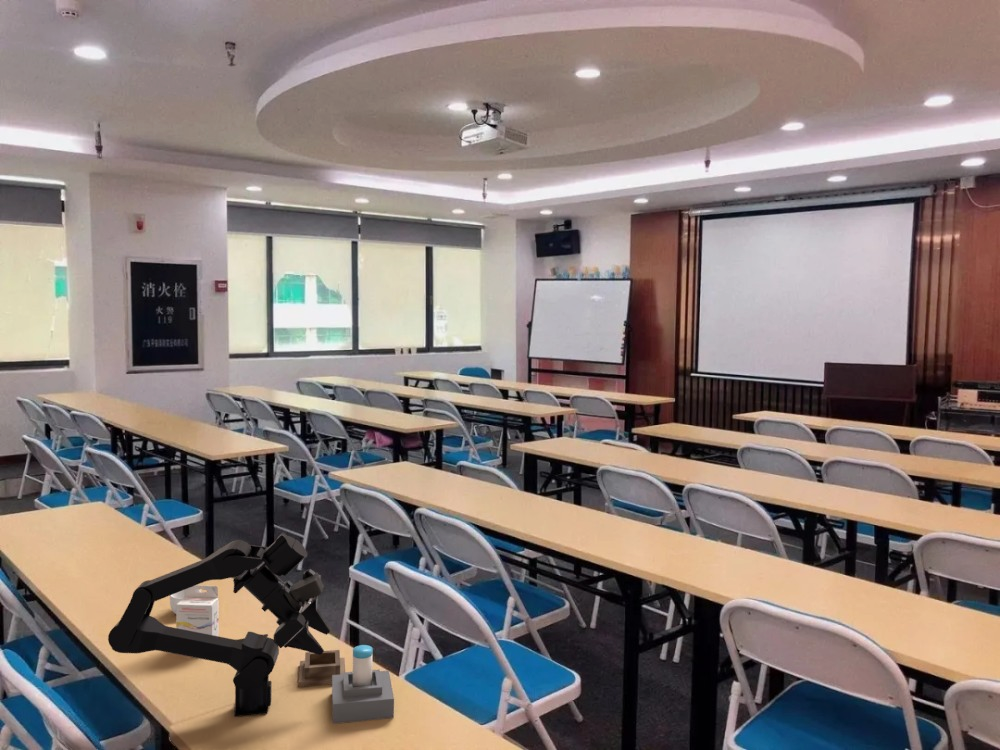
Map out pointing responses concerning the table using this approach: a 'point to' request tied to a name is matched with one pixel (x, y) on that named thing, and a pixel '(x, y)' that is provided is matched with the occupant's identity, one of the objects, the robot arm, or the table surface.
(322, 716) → the table surface
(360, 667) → the plug
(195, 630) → the ink cartridge box
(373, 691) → the upper dock
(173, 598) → the teacup
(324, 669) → the low dock
